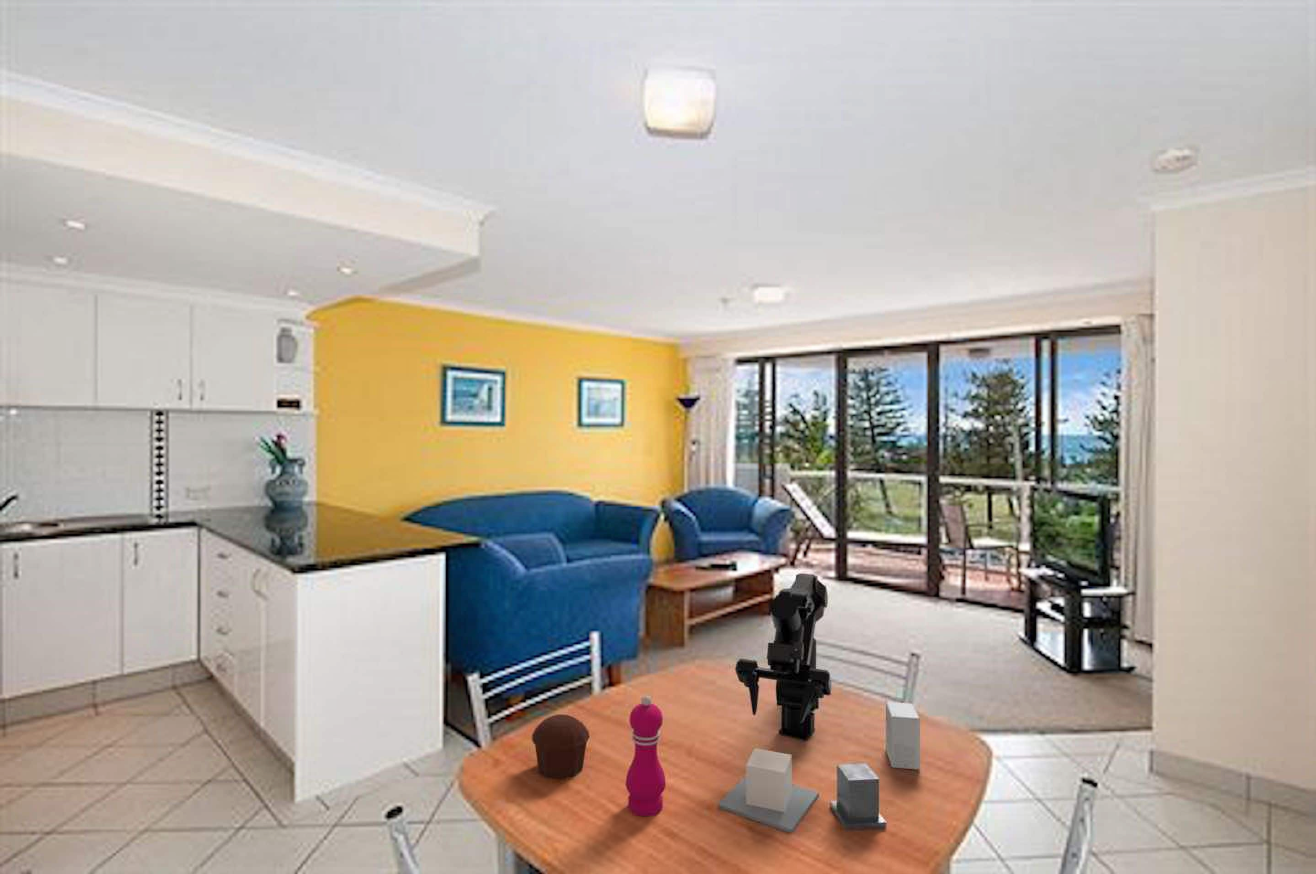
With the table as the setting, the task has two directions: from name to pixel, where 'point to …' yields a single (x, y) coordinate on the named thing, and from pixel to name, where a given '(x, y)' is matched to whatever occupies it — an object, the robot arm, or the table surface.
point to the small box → (903, 735)
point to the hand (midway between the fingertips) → (777, 718)
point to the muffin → (560, 746)
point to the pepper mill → (645, 761)
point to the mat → (784, 821)
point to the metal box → (857, 798)
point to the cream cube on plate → (769, 779)
